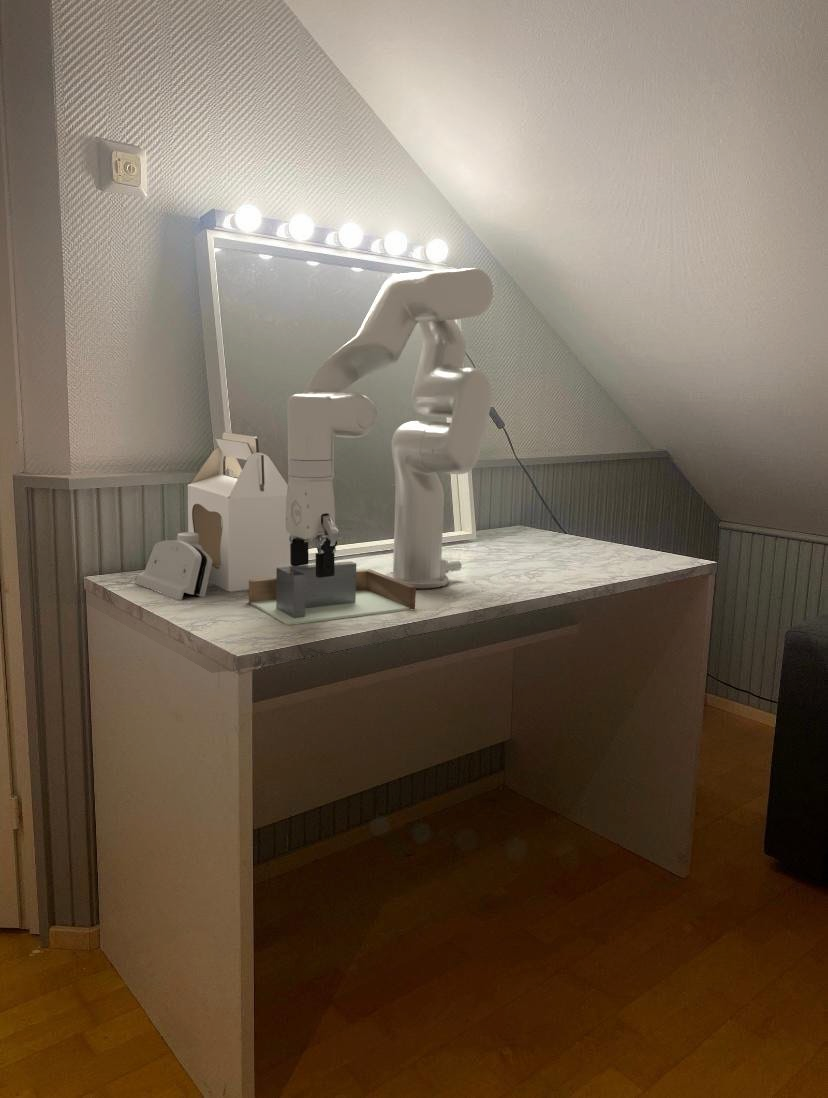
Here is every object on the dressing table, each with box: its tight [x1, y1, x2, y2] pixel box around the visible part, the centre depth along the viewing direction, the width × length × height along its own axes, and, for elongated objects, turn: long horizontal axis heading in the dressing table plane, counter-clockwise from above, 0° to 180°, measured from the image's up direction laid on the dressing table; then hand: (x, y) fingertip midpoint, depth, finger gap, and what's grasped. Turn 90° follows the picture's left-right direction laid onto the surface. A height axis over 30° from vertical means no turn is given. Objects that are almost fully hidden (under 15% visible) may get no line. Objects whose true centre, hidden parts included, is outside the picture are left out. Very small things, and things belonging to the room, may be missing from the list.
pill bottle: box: [176, 531, 203, 550], centre depth 161 cm, size 5×5×9 cm
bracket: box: [276, 561, 357, 618], centre depth 141 cm, size 7×14×7 cm, turn 123°
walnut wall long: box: [248, 568, 374, 605], centre depth 151 cm, size 24×1×4 cm, turn 123°
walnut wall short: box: [367, 570, 417, 611], centre depth 150 cm, size 1×15×4 cm, turn 33°
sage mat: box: [250, 590, 410, 626], centre depth 144 cm, size 23×15×1 cm, turn 123°
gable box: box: [187, 432, 292, 593], centre depth 162 cm, size 22×13×28 cm, turn 34°
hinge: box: [135, 539, 212, 601], centre depth 153 cm, size 17×5×10 cm, turn 45°
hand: (312, 570), depth 142 cm, fingers open, 9 cm apart
